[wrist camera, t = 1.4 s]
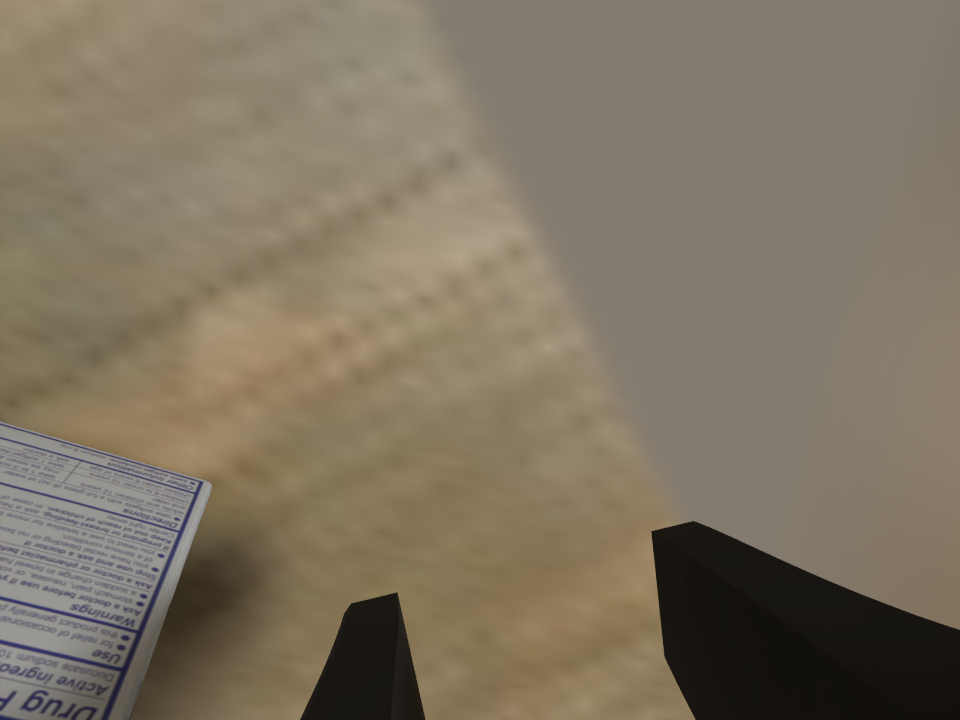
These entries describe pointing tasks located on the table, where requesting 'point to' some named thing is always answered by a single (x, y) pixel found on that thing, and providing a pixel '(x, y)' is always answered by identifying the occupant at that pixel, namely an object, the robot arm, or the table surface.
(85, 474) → the medicine box
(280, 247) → the table surface
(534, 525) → the table surface
